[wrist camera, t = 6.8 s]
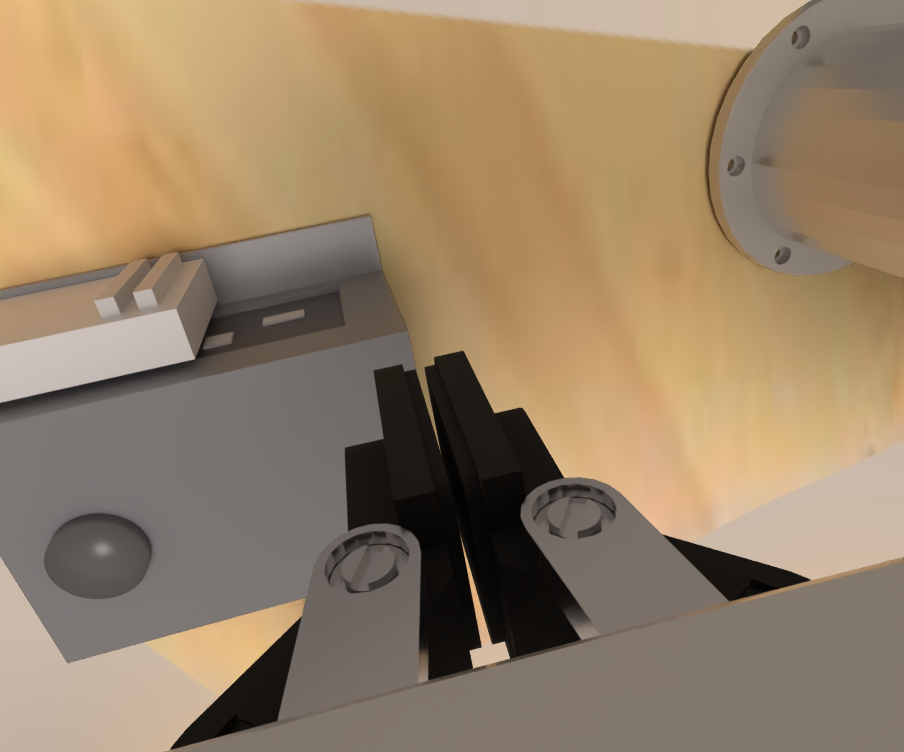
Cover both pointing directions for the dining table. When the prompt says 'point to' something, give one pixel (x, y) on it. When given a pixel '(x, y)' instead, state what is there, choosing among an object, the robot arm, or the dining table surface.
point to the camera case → (203, 448)
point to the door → (104, 327)
